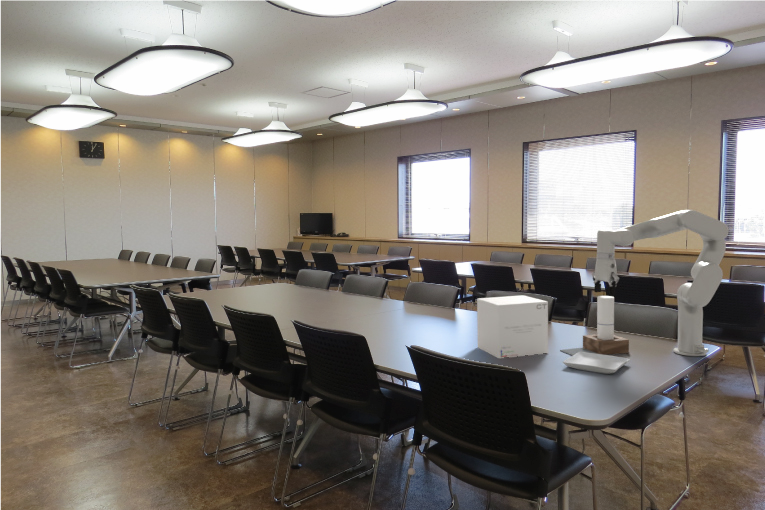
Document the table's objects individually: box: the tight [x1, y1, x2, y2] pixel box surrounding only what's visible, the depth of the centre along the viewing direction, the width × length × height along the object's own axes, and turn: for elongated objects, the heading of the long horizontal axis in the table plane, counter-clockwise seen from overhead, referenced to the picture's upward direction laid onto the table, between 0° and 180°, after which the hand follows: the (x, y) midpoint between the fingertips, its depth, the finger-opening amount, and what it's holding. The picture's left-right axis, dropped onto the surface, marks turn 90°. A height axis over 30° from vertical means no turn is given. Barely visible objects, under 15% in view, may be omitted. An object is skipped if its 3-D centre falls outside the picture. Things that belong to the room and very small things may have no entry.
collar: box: [582, 333, 630, 356], centre depth 243 cm, size 14×14×6 cm
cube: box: [476, 294, 549, 359], centre depth 246 cm, size 25×21×24 cm
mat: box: [559, 347, 598, 357], centre depth 239 cm, size 12×12×1 cm
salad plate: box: [562, 352, 631, 375], centre depth 217 cm, size 21×21×3 cm
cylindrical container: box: [596, 295, 615, 340], centre depth 242 cm, size 7×7×25 cm
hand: (604, 293), depth 241 cm, fingers open, 9 cm apart
